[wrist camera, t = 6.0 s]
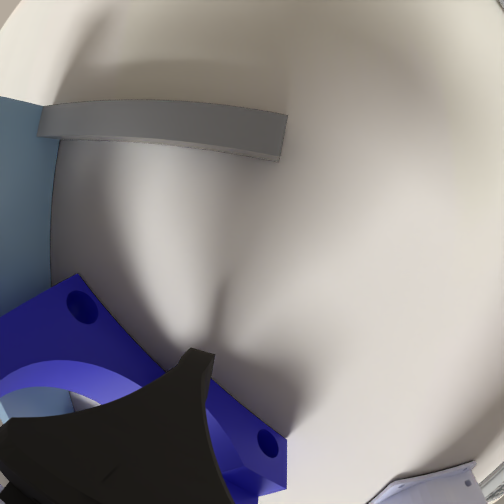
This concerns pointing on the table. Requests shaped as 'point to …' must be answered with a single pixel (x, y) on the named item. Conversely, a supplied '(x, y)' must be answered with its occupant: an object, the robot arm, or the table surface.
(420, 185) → the table surface
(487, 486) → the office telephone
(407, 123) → the table surface
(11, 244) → the bulldozer blade
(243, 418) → the cable clip
